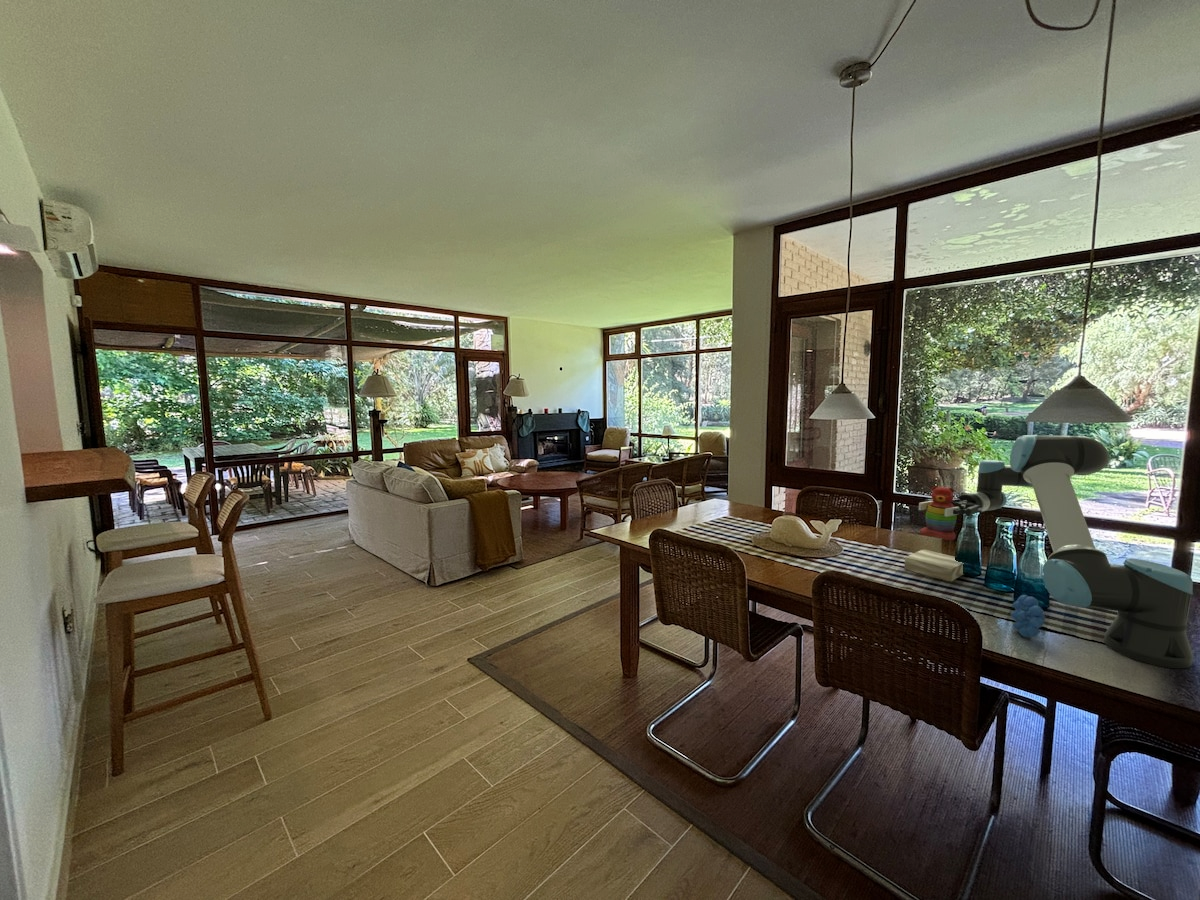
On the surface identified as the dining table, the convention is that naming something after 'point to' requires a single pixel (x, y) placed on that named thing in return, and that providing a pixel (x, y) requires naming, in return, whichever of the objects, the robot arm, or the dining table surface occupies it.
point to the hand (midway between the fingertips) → (932, 509)
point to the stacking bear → (940, 515)
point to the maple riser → (934, 565)
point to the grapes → (1028, 616)
